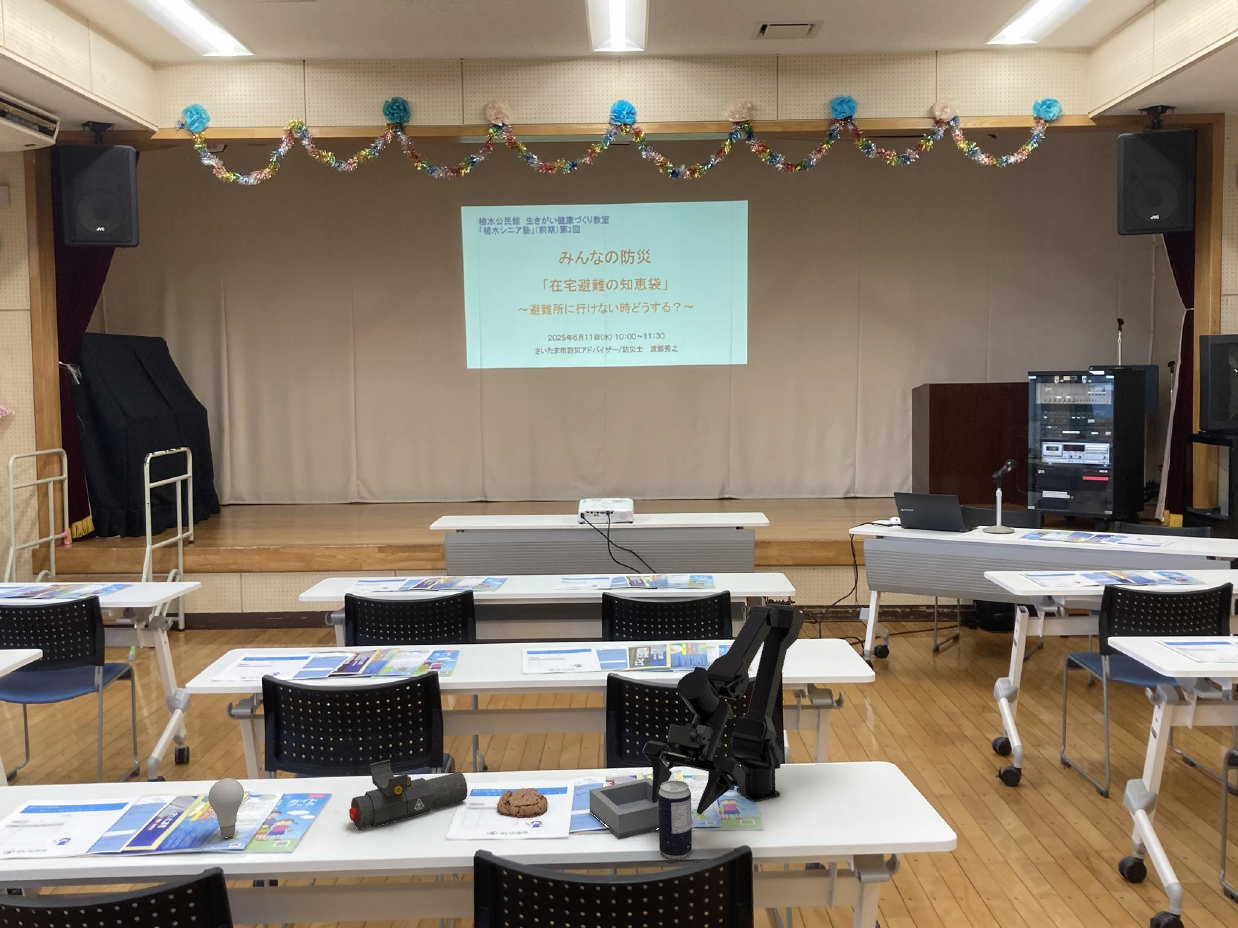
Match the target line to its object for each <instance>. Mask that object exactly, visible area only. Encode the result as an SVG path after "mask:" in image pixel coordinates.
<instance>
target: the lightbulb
mask: <svg viewBox="0 0 1238 928" xmlns="http://www.w3.org/2000/svg"><path fill="white" fill-rule="evenodd" d="M244 798H245V790H244V787H243V784H241V782H239V781H238V780H237V779H234V778H230V777H225V778H222V779H220V780H218V781H216V782H214V784H213V785H212V786H211V787H210V790H209V792H208V796H207V799H208V804H209V805H210V808H211V809H212V810H213V811H214V814H215V815H216V817H217V824H218V826H219V831H220V833H219V834H220V837H223V838H225V837H230V836H231V837H232V836H234V835H235V833H236V823H237V821H238V820H237V819H238V818H237V817H238V812H239V809H240V807H241V805H242V802H243V800H244ZM231 837H230V838H231Z"/></svg>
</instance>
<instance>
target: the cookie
mask: <svg viewBox="0 0 1238 928" xmlns="http://www.w3.org/2000/svg"><path fill="white" fill-rule="evenodd" d="M548 803H549V802H548V799H547V796H544V794H542V793H540V792H538V790H537V789H535V788H534V787H532V788H531V787H530V788H529V787H527V788H525V787H523V788H519V789H517V790H514V791H511V790H507V791H505V792H503V793H502V794H501V796H500V797H499V800H498V803H497V804H496V810H497V811H498V813H499V814H500V815H502V816H508V817H511V818H517V819H524V818H526V819H527V818H531V819H533V818H536V817H540V816H542V815H543V814H545V813H546V812H547V810H548Z"/></svg>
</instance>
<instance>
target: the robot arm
mask: <svg viewBox="0 0 1238 928" xmlns="http://www.w3.org/2000/svg"><path fill="white" fill-rule="evenodd" d="M804 618H805V617H804V614H803V612H801V611H800V608H799V607H798V606H796V605H788V604H786V605H785V604H779V603H768V604H766V605H764V606H763V605H758V604H757V605H754V606H751V607H750V608H749V611H748V617H747V618H746V620H745V622H744V623H743V625H742V626H741V628H740V631H739V632H738V634H737V635H736V637H735V638H734V641H733V642H732V643H731V646H730V647H729V649H728V651H727V652H726V653H725V654H723V655H721V656H719V657H717V658H715V659H714V661H713V662H712V663H711V664H710V666H709V667H708V668H707V669H706V668H705V667H701V666H695V667H694V669H693V671H691V672H688V673H686V674H685V675H684V676H682V678H680V679H679V681H678V683H677V685H676V686H677V687H676V690H677V694H678V695H679V696H680V697H681V699H682V700H683V701H684V703H685V704H686V706H687V707H688V709H689V710H690V711H691V712H692V713H693V714H694V717H693V720H692V722H687V723H686V724H685V726H684V725H678V724H674V723H670V725H669V726H670V727H669V730H668V735H667V740H666V742H667V743H671V744H672V743H673V744H675V745H674V748H675V749H676V750H677V751H680V752H675V751H672V748H670V747H669V745H668V744H667V743H665V742H661V741H657V740H656V741H655V740H653V739H652V740H651V739H650V740H649V741H646V743H645V744H644V746H643V748H642V750H641V753H642V755H643V756H644V757H645V758H646V759H647V761H648V762H649V764H650V765H651V768H652V780H653V786H652V801H653V802H654V803H656V802H657V800H658V792H659V790H660V788H661V787H660V786H661V784H662V783H664V782H667V781H670V778H671V776H672V774H673V772H672V771H671V769H674V768H675V767H674V766H675V765H679V766H683V767H688V768H691V769H695V770H696V769H697V770H700V771H705V772H708V775H707V783H706V785H705V788H704V790H703V793H702V795H701V796H700V800H699V802H698V805H697V808H696V814H697V815H702V814H703V813H705V812H706V811H707V810H708V808H709V807H710V806H711V805H713V803H714V802H716V801H717V800H718V799H719V798H721V796H724V794H726V793H727V792H729V791H734V790H735V787H736V792H738V793H739V794H741V795H743V796H744V797H746V798H747V799H749V800H750V801H752V802H758V801H762V800H766V799H770V798H771V799H773V798H774V797H779V796H781V792H780V791H778V790H777V789H776V770H778V769H780V768H781V765H782V763H783V758H784V757H783V756H784V752H783V751H782V749H781V748H780V746H779V745H778V744H777V742H776V737H777V732H776V729H775V725H774V723H773V719H772V718H773V714H774V708H775V705H776V700H777V696H778V692H779V687H780V683H781V678H782V673H783V669H784V664H785V660H786V657H787V656H786V655H787V652H788V650H789V648H790V647H791V646H793V644H794V643H795V642H797V640H798V638H799V634H800V632H801V629H802V628H803V626H804V621H805V620H804ZM761 647H762V648H761ZM760 649H762V650H761V653H760V658H759V662H758V666H757V670H756V675H755V680H754V683H753V688H752V691H751V697H750V701H749V706H748V710H747V712H746V713H745V714H743V716H737V718H736V719H735V721H734V727H733V731H732V734H731V737H730V741H729V743H730V745H729V746H730V750H731V754H732V757H728V756H724V755H718V754H717V755H716V756H715V753H716V750H717V748H721V747H722V745H723V742H722V740H721V737H722V735H723V733H724V732H723V731H724V729H725V727H726V724H727V722H728V719H729V720H734V718H735V717H734V716H735V715H734V712H733V709H732V704H731V703H728V702H727V701H726V700H725V699H729V700H735V701H737V700H741V699H742V697H743V696H744V694H745V693H746V692H747V689H748V685H749V682H750V673H749V669H750V667H751V664H752V663H753V661H754V659H755V658H756V656H757V654H758V653H759V650H760ZM714 756H715V757H714Z"/></svg>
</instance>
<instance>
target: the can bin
mask: <svg viewBox="0 0 1238 928" xmlns="http://www.w3.org/2000/svg"><path fill="white" fill-rule="evenodd" d="M652 786H653V778H651V777H647V778H646V777H645V778H642V779H636V780H632V781H626V782H621V783H617V784H611V785H607V786H602V787H596V788H592V789H589V813H590V812H591V813H592V814H593V815H595V816H596V817H597V818H598V819H599V820H601V821H602V822H603V823H604V824H606V825H607V826H608V827H609V829H610V831H611V832H610V831H609V832H610V833H611V834H612V835H613V836H615V838H616V839H617V840H622V839H626V838H631V837H634V836H639V835H643V834H648V833H652V831H653V830H656V829H657V828H659V804H658V800H657V802H656V803H654V802H653V801H652ZM591 813H590V814H591ZM592 814H591V815H592ZM593 815H592V816H593ZM653 832H654V831H653Z"/></svg>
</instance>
